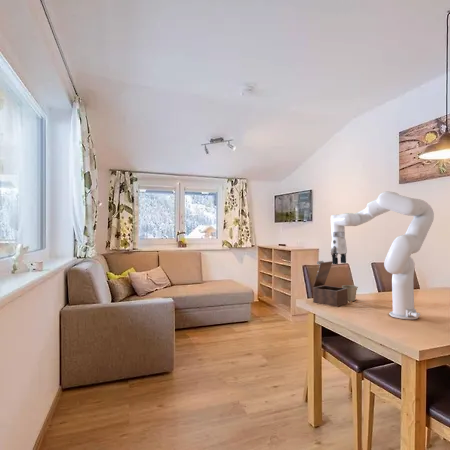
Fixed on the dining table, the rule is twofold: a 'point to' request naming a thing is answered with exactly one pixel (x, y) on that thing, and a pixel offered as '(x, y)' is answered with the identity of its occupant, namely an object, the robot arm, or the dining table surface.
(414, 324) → the dining table surface
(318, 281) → the lid
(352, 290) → the flower pot
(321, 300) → the chest
